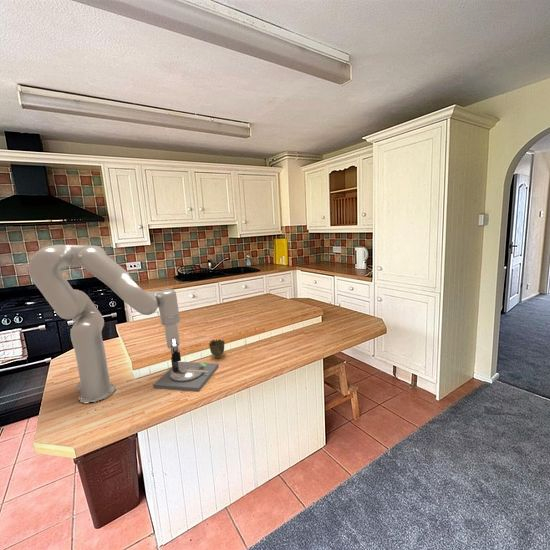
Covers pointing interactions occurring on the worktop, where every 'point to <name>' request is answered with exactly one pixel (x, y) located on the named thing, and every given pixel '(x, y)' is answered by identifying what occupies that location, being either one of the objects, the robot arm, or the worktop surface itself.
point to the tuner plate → (191, 385)
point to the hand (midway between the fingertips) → (176, 356)
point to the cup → (217, 348)
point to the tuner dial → (186, 371)
